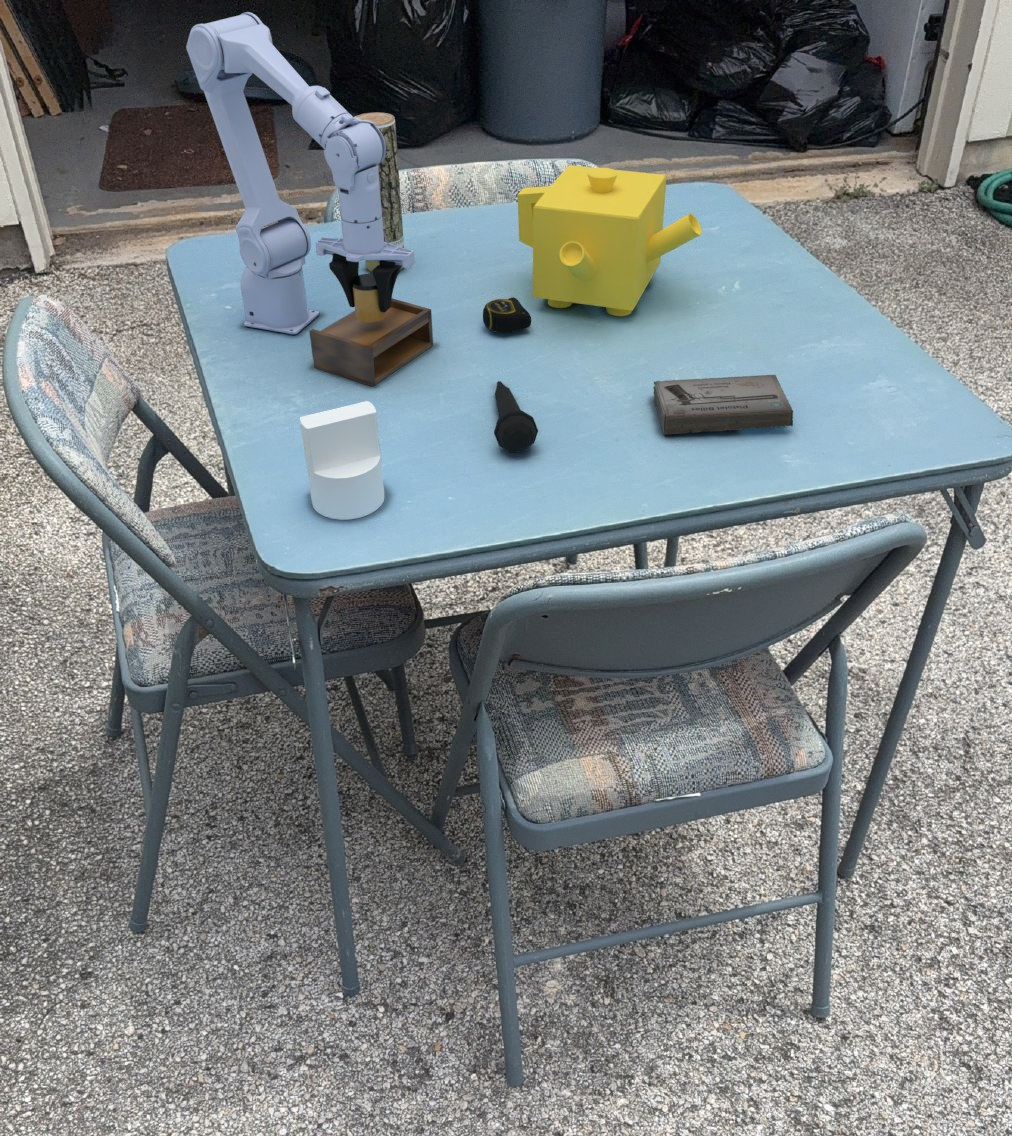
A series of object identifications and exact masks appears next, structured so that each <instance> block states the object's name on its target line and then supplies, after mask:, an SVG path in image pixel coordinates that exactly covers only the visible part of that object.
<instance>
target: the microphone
mask: <svg viewBox="0 0 1012 1136" xmlns="http://www.w3.org/2000/svg"><path fill="white" fill-rule="evenodd" d="M494 398H495V402H496V403H495V404H496V409H497V414H498V419H497V421H496V424H495V427H494V431H493V434H494V437H495V440H496V442H497V445H498V446H499V447H500V448H502V449H503V450H505V451H507V452H509V453H521V452H525V451H526V450H527V449H529V448H530V447H531V446H532V445H534V444H535V443H536V440H537V436H538V434H539V429H538V426H537V424H536V421H535V418H534V417H533V415H530V414H529V413H527V412H525V411H524V410H522V409H521V408H520V406H519V403H518V402H517V400H516V398H515V396H514V395H513V392H512V391H511V389H510V387H508V386H506V385H505V384H504V383H503V382H502V381H501V380H498V381H497V382H496V389H495V393H494Z"/></svg>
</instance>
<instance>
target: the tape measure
mask: <svg viewBox="0 0 1012 1136" xmlns="http://www.w3.org/2000/svg"><path fill="white" fill-rule="evenodd" d="M482 323H483V324H484V326H485V327H486V328H487V329H488V330H490V331H491V332H493V333H497V334H512V333H515V332H519V331H522V330H526V329H529V328H530V327H531V325H532V316H531V314H530V313H529V312H528V310H527V309H526V308H525V307H524V306H523V305H522V304H521V301H519V300H518V298H517V297H514V296H513V297H508V298H497V299H493V300H490V301H488V302H487V303H486V304H485V305H484V308H483V310H482Z"/></svg>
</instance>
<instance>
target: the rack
mask: <svg viewBox="0 0 1012 1136" xmlns="http://www.w3.org/2000/svg"><path fill="white" fill-rule="evenodd" d="M308 332H309V340H310V347H311V356H312V363H313V368H314V369H317V370H320V371H323V372H326V373H329V374H332V375H336V376H339V377H342V378H345V379H348V380H350V381H354V382H357V383H359V384H363V385H365V386H366V385H367V386H369V387H372V388H373V387H374V386H377V385H378V384H379V383H380V382H382V381H383V380H385V379H386V378H387V377H389V376H391V375H392V374H393V373H395V372H396V371H398V370H400V369H401V368H402V367H404V366H405V365H407V364H408V363H410V362H411V361H412V360H414V359H416V358H417V357H418V356H420V355H422V354H423V353H424V352H426V351H428V350H429V349H430V348H432V347H433V346H434V335H433V334H434V333H433V316H432V309H431V308H428V307H425V306H421V305H417V304H414V303H410V302H407V301H403V300H400V299H397V298H393V297H392V299H391V307H390V308H389V309H388V310H387V311H386V316H385V318H384V319H382V320H380V321H377V322H370V323H369V322H362V321H359V320H357V318H356V314H355V310H353V311H351V312H350V313H348V314H347V315H345V316H343V317H341V318H340V319H338V320H336V321H334V322H333V323H331V324H330V325H328V326H327V327H325V328H323V329H321V330H318V329H315V328H311V329H310V330H309V331H308Z"/></svg>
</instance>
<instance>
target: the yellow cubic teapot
mask: <svg viewBox="0 0 1012 1136" xmlns="http://www.w3.org/2000/svg"><path fill="white" fill-rule="evenodd" d="M666 187H667V175H666V174H659V173H650V172H641V171H640V172H639V171H631V170H622V169H621V170H620V169H612V168H610V167H592V166H591V167H590V166H582V165H571V164H569V165H568V166H567V167H565V169H564V170H563V171H562V173H560V174H559V176H558V177H557V178H556V179H555V180H554V182H553V183H552V184H551V185H544V186H531V187H523V188H522V189H521V190H520V191H519V192H518V194H517V217H518V241H519V242H520V243H523V244H525V245H527V246H528V247H530V248H532V298H534V299H535V298H536V299H543V300H547V305H548V306H550V307H552V308H555V309H565V308H568V307H571V306H572V305H573V304H580V305H588V306H595V307H602V308H606V312H607V313H608V314H609V315H611V316H613V317H614V316H615V317H625V316H628V315H631V314H632V313H633V311H634V310H635V308H636V306H637V304H638V302H639V301H640V299H641V297H642V296H643V294H644V292H645V290H646V288H647V287H648V285H649V283H650V281H651V280H652V278H653V276H654V274H655V273H656V271H657V269H658V268H659V265H660V263H661V257H663V256H664V255H666V254H667V253H670V252H671V251H673V250H675V249H677V248H680V247H681V246H683V245H685V244H686V243H689V242H691V241H692V240H694V239H696V238H698V237H700V236H701V235H702V234H703V230H702V227H701V224H700V222H699V221H698V219H697V217H696V216H695V215H694V214H693V213H691V212H689V213H688V214H686V215H683V216H682V217H681V218H678V219H677V220H676V221H674V222H673V223H671V224H669V225H667V226H665V227H664V216H665V204H666V203H665V202H666V189H667V188H666Z"/></svg>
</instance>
